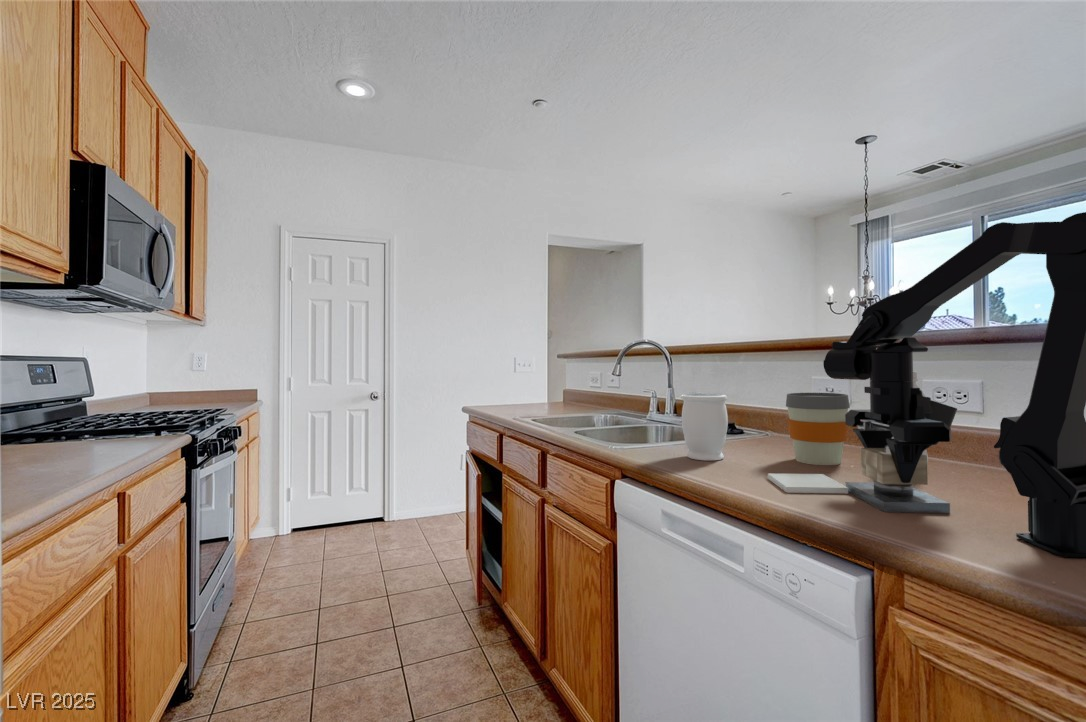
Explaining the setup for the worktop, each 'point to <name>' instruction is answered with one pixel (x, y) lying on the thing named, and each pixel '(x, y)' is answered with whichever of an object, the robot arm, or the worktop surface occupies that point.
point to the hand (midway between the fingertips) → (893, 477)
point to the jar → (704, 425)
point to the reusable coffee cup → (818, 426)
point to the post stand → (897, 497)
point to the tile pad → (807, 483)
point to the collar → (889, 467)
